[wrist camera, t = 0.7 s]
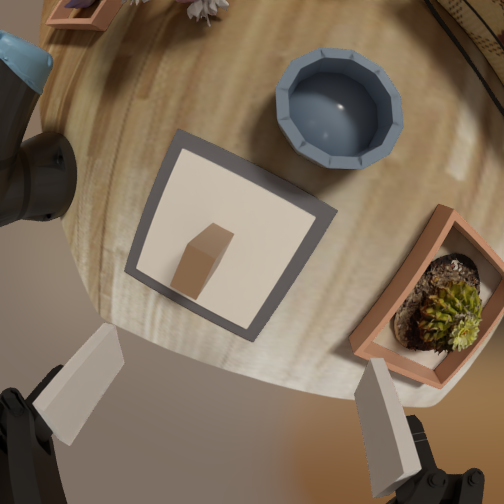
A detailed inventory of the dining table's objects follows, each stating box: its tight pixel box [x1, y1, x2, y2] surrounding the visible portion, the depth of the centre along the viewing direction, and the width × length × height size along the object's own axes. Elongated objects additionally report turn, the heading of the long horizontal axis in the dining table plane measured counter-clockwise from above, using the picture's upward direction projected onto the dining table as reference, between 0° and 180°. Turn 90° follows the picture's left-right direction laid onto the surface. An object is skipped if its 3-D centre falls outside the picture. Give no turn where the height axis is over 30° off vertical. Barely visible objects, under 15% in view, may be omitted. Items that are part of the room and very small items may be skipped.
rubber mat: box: [124, 129, 337, 342], centre depth 35 cm, size 22×22×1 cm
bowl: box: [275, 48, 404, 169], centre depth 25 cm, size 13×13×6 cm
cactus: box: [394, 253, 483, 356], centre depth 29 cm, size 17×16×10 cm
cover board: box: [136, 149, 316, 329], centre depth 30 cm, size 18×18×10 cm
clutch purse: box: [424, 0, 504, 115], centre depth 13 cm, size 30×7×15 cm, turn 43°
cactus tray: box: [349, 204, 504, 389], centre depth 32 cm, size 22×23×4 cm
